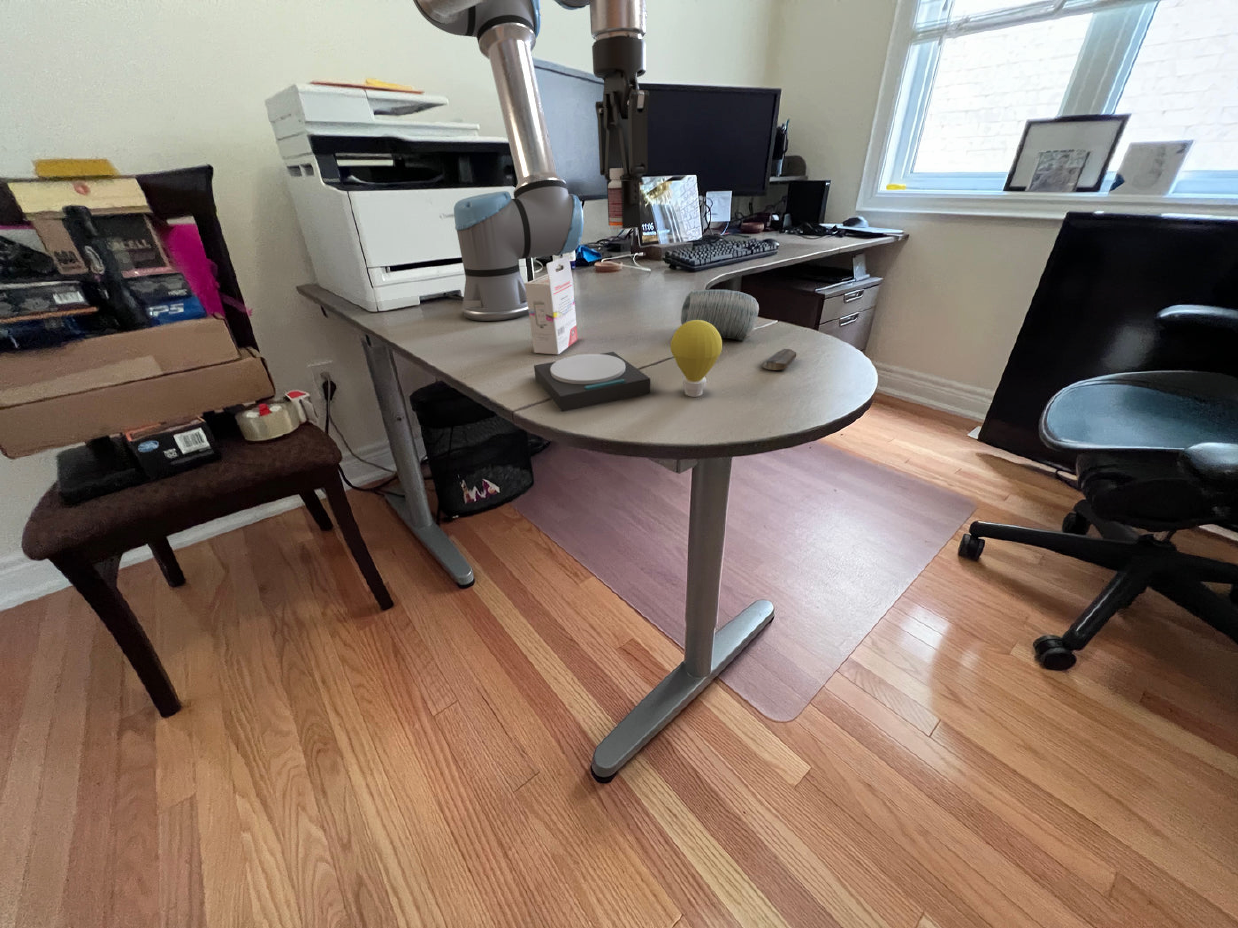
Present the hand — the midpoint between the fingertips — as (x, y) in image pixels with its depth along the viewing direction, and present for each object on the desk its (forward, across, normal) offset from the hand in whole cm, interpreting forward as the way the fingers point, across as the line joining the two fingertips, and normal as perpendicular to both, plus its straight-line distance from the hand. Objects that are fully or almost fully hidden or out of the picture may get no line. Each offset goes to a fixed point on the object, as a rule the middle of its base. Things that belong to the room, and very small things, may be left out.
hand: (623, 226), depth 80 cm
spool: (+19, -6, -15) cm, 25 cm away
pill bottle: (+1, 0, 0) cm, 1 cm away
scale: (+19, -17, +14) cm, 29 cm away
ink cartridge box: (+19, +3, +13) cm, 23 cm away
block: (+19, -24, -15) cm, 34 cm away
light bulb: (+19, -27, +2) cm, 33 cm away
